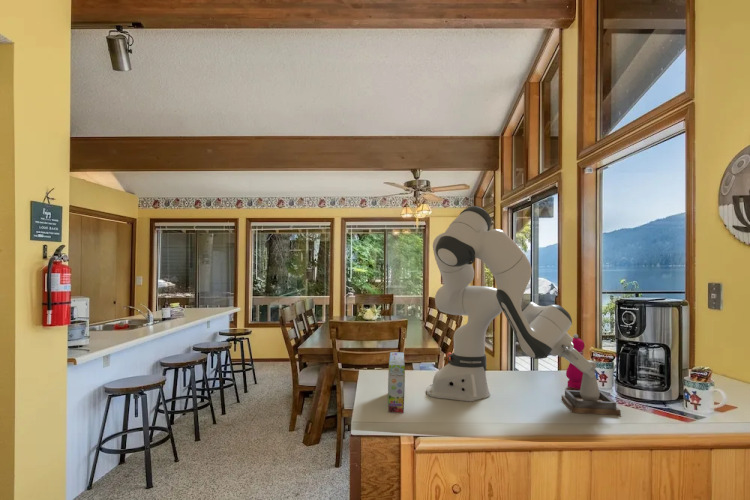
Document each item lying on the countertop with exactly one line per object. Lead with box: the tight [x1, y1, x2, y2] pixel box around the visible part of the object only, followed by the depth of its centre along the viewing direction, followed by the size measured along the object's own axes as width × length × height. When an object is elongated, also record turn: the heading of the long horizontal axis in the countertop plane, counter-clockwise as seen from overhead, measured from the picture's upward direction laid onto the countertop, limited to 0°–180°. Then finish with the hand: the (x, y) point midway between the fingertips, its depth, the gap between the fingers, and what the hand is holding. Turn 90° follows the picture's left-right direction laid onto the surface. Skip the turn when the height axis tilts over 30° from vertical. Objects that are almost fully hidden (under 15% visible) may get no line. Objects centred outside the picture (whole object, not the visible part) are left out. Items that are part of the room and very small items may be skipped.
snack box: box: [387, 351, 406, 414], centre depth 145 cm, size 21×6×15 cm, turn 177°
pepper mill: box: [565, 333, 585, 390], centre depth 163 cm, size 7×7×20 cm
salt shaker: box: [579, 359, 600, 401], centre depth 139 cm, size 6×6×13 cm
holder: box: [561, 389, 622, 416], centre depth 139 cm, size 14×13×4 cm
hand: (590, 374), depth 139 cm, fingers closed on salt shaker, 3 cm apart
